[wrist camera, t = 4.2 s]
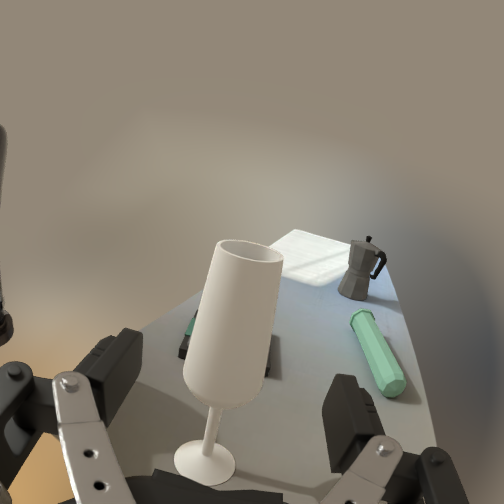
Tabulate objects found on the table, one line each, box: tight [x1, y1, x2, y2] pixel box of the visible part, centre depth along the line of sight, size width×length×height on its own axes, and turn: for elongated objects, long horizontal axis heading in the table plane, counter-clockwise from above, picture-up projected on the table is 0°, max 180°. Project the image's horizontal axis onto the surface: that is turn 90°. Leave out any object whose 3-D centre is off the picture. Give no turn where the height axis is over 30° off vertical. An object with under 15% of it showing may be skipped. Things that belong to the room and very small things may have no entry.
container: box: [349, 308, 407, 397], centre depth 56 cm, size 6×6×25 cm
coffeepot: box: [338, 236, 387, 301], centre depth 88 cm, size 15×9×18 cm, turn 22°
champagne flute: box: [174, 240, 284, 486], centre depth 25 cm, size 7×7×24 cm
